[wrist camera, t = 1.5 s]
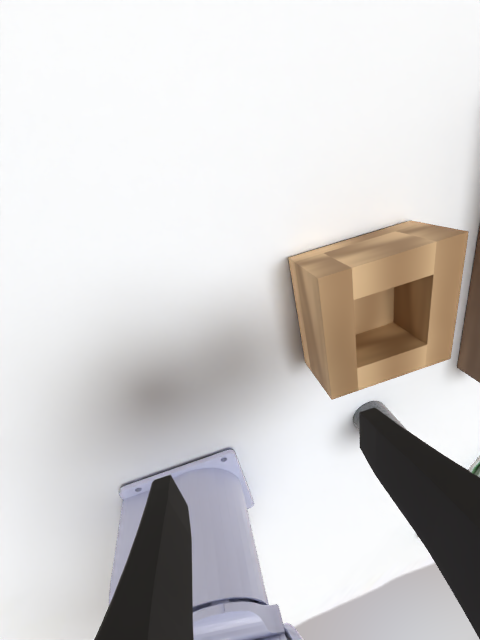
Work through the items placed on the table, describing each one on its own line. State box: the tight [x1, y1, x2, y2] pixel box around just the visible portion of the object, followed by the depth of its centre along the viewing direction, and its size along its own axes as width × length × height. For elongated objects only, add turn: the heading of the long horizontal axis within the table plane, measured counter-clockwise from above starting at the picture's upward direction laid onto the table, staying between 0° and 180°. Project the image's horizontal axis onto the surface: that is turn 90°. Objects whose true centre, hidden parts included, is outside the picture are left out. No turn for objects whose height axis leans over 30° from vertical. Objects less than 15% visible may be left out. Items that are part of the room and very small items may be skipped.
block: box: [288, 221, 468, 399], centre depth 18 cm, size 8×8×4 cm
